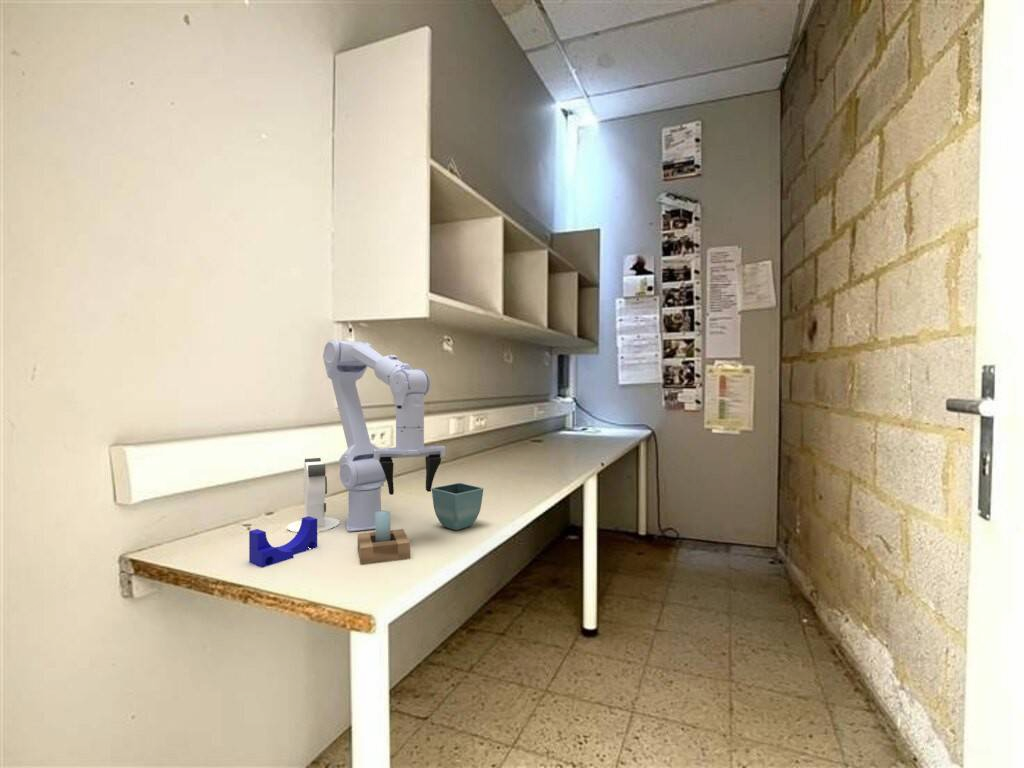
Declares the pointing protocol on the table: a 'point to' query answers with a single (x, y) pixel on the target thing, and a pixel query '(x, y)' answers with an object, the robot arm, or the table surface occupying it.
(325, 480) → the white tower device
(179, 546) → the table surface
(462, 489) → the flower pot
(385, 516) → the blue-gray dowel
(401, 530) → the open cardboard frame
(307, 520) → the blue cradle bracket
